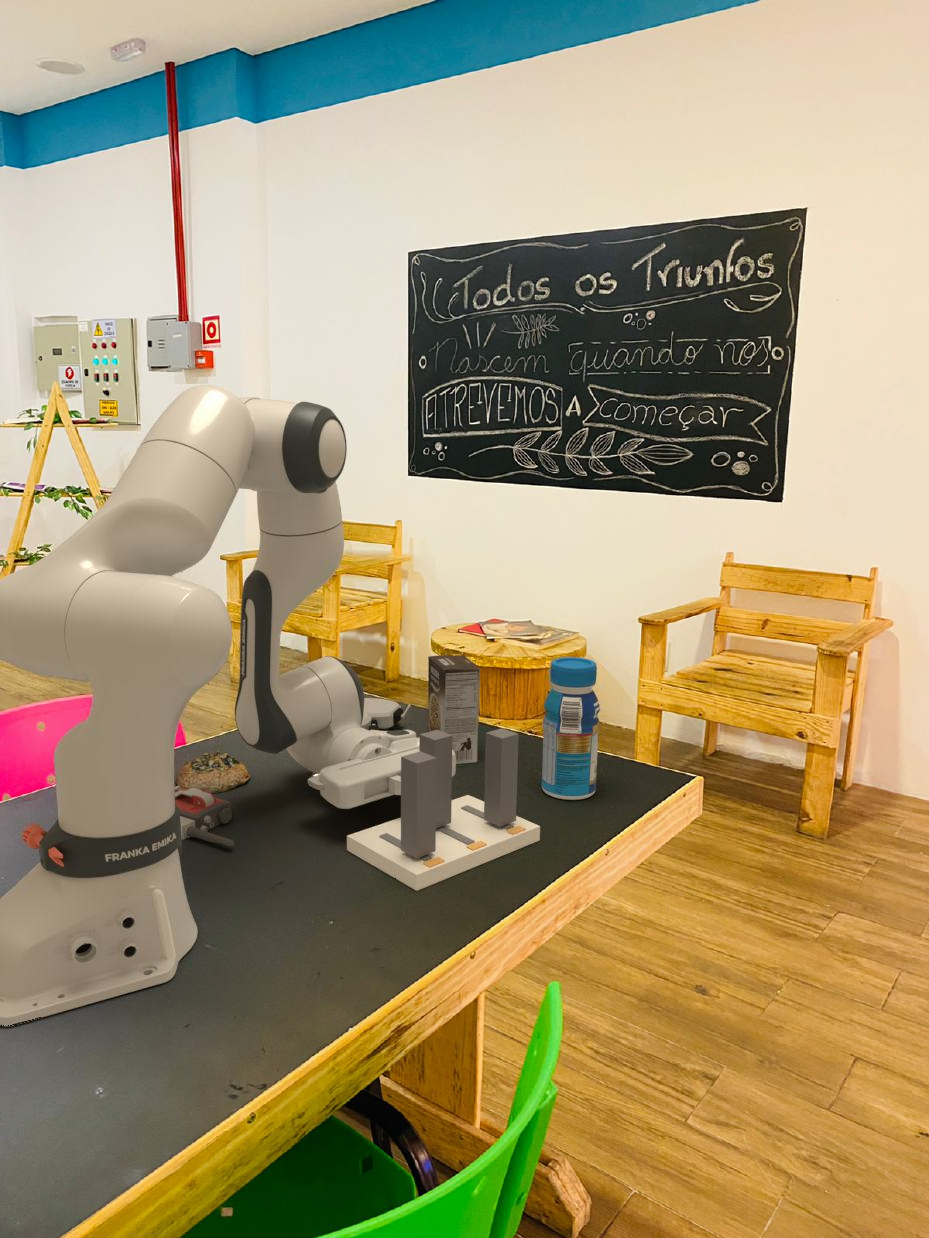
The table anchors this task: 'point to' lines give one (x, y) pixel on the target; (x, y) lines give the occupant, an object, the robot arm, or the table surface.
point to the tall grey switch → (418, 804)
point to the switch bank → (443, 845)
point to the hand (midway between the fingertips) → (426, 790)
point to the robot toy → (381, 714)
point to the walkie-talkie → (202, 814)
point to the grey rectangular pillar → (440, 771)
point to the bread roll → (212, 773)
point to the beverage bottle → (571, 730)
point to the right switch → (501, 777)
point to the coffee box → (455, 703)
